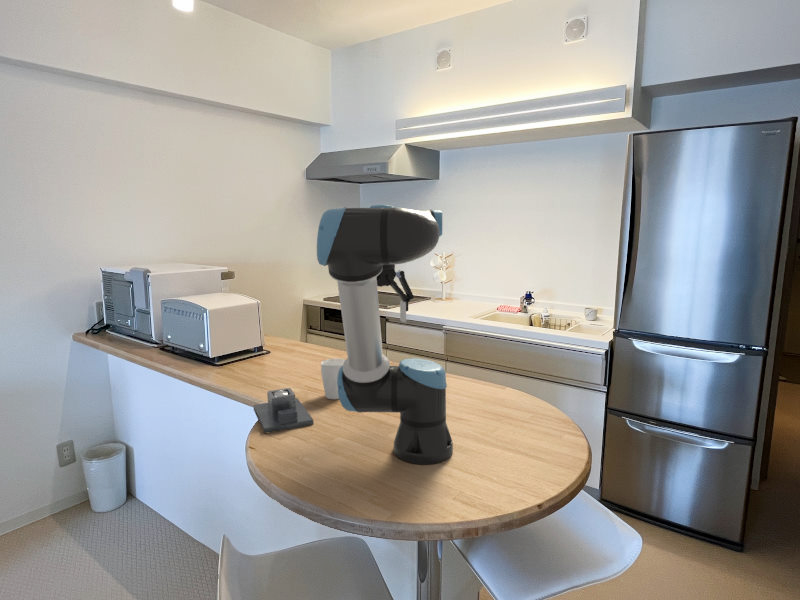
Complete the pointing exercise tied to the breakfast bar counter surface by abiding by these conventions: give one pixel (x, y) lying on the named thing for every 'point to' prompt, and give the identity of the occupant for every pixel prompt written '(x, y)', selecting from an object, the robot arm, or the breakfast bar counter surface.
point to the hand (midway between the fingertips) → (383, 323)
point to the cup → (331, 376)
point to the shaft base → (282, 416)
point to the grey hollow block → (280, 401)
